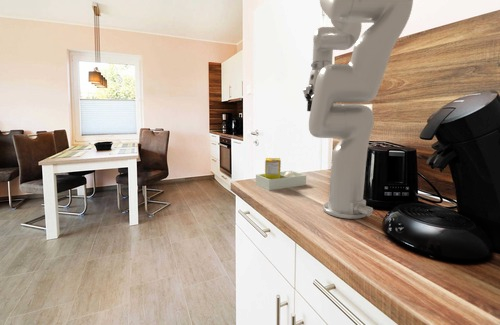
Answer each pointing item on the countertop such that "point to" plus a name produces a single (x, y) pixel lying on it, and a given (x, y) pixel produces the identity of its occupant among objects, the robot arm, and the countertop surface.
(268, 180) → the tray
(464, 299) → the countertop surface
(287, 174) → the egg
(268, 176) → the supplement box
